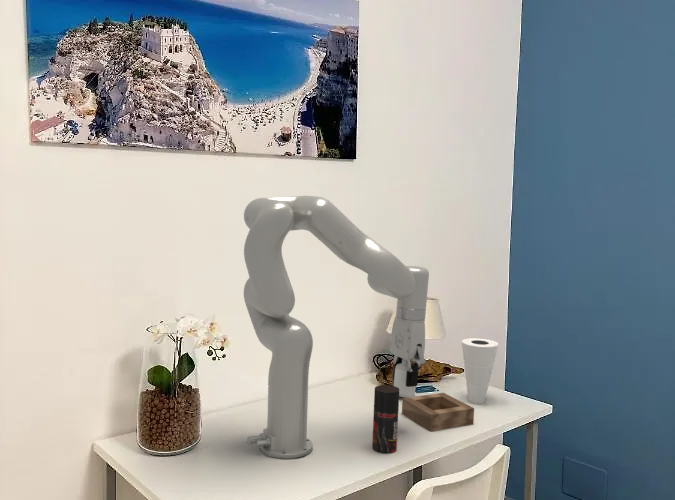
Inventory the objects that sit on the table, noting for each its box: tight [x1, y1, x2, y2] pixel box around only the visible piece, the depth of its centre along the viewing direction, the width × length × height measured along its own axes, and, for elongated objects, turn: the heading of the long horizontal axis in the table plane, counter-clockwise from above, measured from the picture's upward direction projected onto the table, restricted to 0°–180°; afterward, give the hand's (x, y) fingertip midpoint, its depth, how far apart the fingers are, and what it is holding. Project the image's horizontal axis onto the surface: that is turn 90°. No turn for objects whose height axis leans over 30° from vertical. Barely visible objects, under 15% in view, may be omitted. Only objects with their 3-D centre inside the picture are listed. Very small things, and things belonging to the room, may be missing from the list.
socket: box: [401, 392, 475, 432], centre depth 184 cm, size 14×14×4 cm
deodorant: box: [371, 384, 400, 455], centre depth 162 cm, size 6×6×15 cm
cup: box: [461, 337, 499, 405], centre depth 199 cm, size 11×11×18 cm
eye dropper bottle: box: [394, 359, 417, 398], centre depth 174 cm, size 4×6×12 cm
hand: (404, 381), depth 174 cm, fingers closed on eye dropper bottle, 5 cm apart
